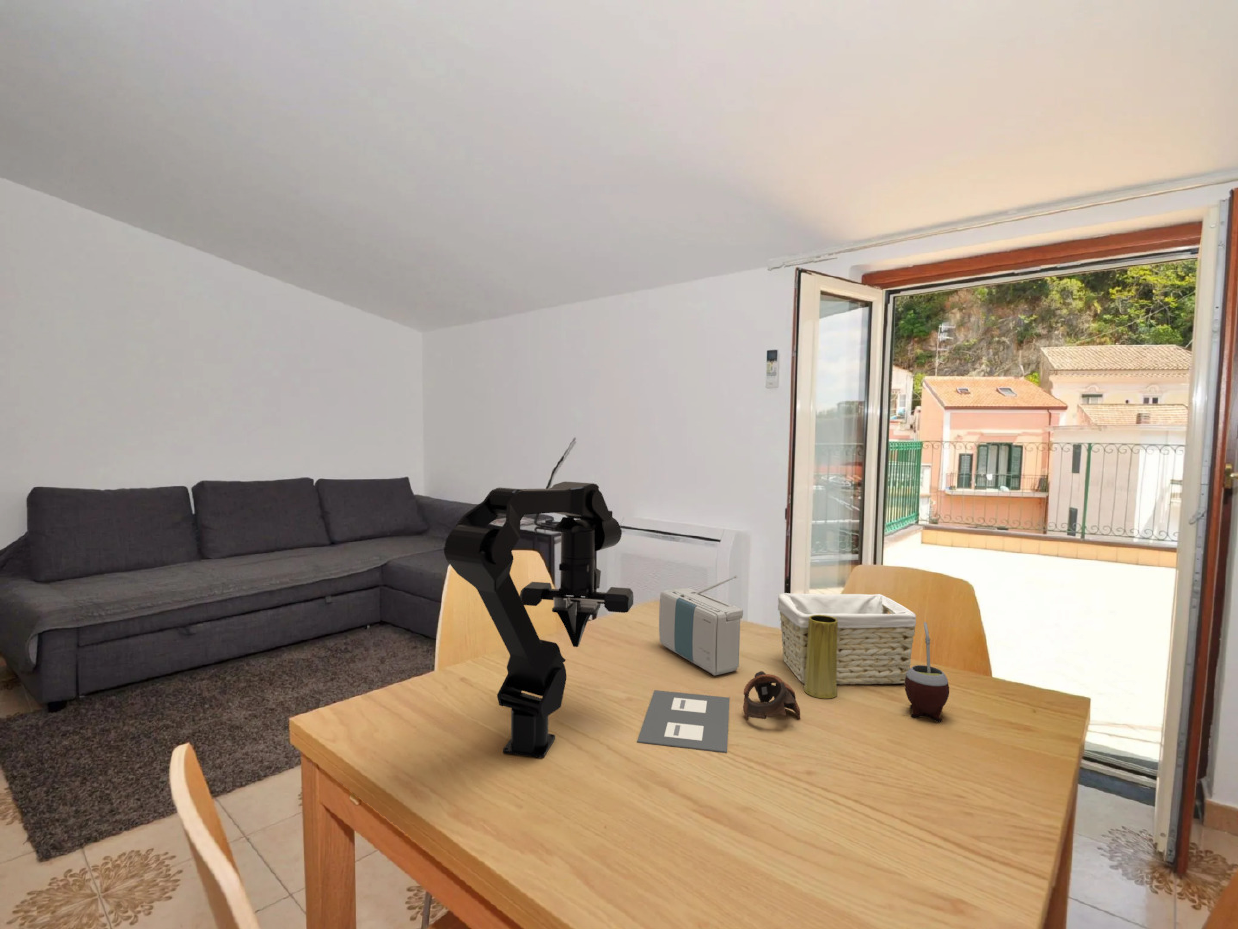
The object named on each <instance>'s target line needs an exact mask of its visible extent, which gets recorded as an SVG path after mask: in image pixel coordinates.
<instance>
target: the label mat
mask: <svg viewBox="0 0 1238 929" xmlns="http://www.w3.org/2000/svg"><path fill="white" fill-rule="evenodd" d="M652 693H653V694H652V695H651V699H650V701H649V702H650V703H649V705H648V709H647V711H646V714H645V716H644V719H643V723H642V725H641V727H640V731H639V734H638V737H637V740H636V743H638V744H639V743H641V744H648V745H658V746H666V747H673V748H680V749H681V748H682V749H690V748H691V750H698V749H700V750H701V751H710V752H716V751H717V752H718V753H726V754H728V744H729V743H728V742H729V741H728V740H729V738H728V737H729V736H728V735H729V718H730V696H729V697H728V696H727V697H726V696H717V695H707V694H698V693H697V694H695V693H687V692H686V693H685V692H677V691H676V692H675V691H670V690H669V691H668V690H666V691H665V690H658V689H654V690H653V692H652Z"/></svg>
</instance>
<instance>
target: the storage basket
mask: <svg viewBox="0 0 1238 929" xmlns="http://www.w3.org/2000/svg"><path fill="white" fill-rule="evenodd" d="M777 603H778V604H777V611H779V616H780V618H779V620H780V631H781V642H782V644H781V645H782V658H783V662H784V663H785V664H786V665H787V667H788V668H789V670H790V671H791V672H792V673H793V674H794V676H795V677H797V679H798V680H799V681H800V682H801V683H802V684H804V685H805V669H806V658H807V645H808V625H809V617H810V616H812V615H827V616H831V617H834V618H836V619H837V621H838V631H837V671H836V674H837V676H836V685H848V684H849V685H855V684H857V685H858V684H859V685H873V684H874V685H877V684H879V685H884V684H893V685H896V684H905V678H906V673H907V672H908V670H909V669H910V668H911V664H912V663H911V661H912V660H911V658H912V652H913V644H914V636H915V633H916V625H917V615H916V613H915V612H913V611H911V610H910V609H909V608H907V607H905V606H903V605H902V604H900V603H898V602H896V601H895V600H894V599H891V598H889V597H887V596H885V595H883V594H880V593H875V594H865V593H829V594H827V593H789V592H788V593H787V592H784V593H779V594H778V596H777Z"/></svg>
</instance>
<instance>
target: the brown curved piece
mask: <svg viewBox="0 0 1238 929" xmlns="http://www.w3.org/2000/svg"><path fill="white" fill-rule="evenodd" d="M774 684H775V685H774ZM753 688H754V689H755V691H756V693H757V696H758V699H759V700H758V701H759V702H756V701H753V700H752V699H751V698H750V692H751V690H752V689H753ZM743 695H744V698H743V706H742V709H743V714H744V717H745V718H747V719H746V720H748V719H749V718H753V719H754V718H755V719H760V720H765V719H767V718H768V719H769V718H773V717H776V716H780V715H781V716H785V717H787V713H786V709H787V710H792V711H794V713H795V715H796V716H797V719H799V720H801V708H800V706H799V704H798V702H797V700H796V698H797V697H796V692H795V690H794V689H793V688H792V687H791V686H790V684H788V683H787V682H785V681H784V680H782V679H781V678H780V677H778V676H777V675H774V674H772V673H771V674H770V673H766V672H764V671H762V670H760V671H758V672H756V673H755V674H754V677H753V678H752V679H750V680H749V681H748V682H747V683H746V685H745V687H744V688H743Z"/></svg>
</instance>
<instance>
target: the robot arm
mask: <svg viewBox="0 0 1238 929" xmlns="http://www.w3.org/2000/svg"><path fill="white" fill-rule="evenodd" d="M553 513H554V514H558V515H562V516H563V515H564V516H563V517H562V518H561V519H560V521H559V522H557V523H556V524H555V526H554V528H553V531H554V532H559V533H560V563H559V564H558V570H559V571H560V576H559V577H560V583H559V585H560V587H559V588H558V589H557V588H552V587H553V586H552V584H551V583H550V582H541V581H540V582H539V581H531V582H530V583H528V584H527V585H525V586H524V587H523V588H522V589H521V590H520V593H519V592H518V589H517V587H516V585H515V582H514V580H513V579H512V576H511V574H510V573H511V570H512V566H513V563H514V555H513V549H514V548H515V546H516V545H517V544H518V542H519V540H520V538H521V521H522V519H523V517H524V516H527V515H529V516H530V515H541V514H543V515H544V514H553ZM499 516H503V517H505V521H504V523H503V525H502V527H501V528H500V529H499V528H493V527H487V526H488V525H490V524H491V523H493V521H495V520H496V519H497V518H498V517H499ZM622 534H623V531H622V528H621V525H620V523H619V522H618V520H617V519H616V518H614V517H613V510H609V508H608V505H607V503H606V500H605V498H604V495H603V493H602V491H600V487H599V485H598V484H597V483H593V482H592V483H591V482H579V481H578V482H577V481H561V482H559V483H555V484H553V485H552V487H549V488H512V487H511V488H510V487H501V486H500V487H496V488H493V489H492V490H490V491H489V493H488V494H487V496H486V497H485V499H483V501H482V502H479V503H478V504H477V505H476V506H474V507H473V508H472V509H470V510H468V511H467V512H466V513H465V514H463V516H462V517H460V519H459V521H458V522H457V523H456V524H455V526H454V528H452V529H451V531H450V532H449V534H448V536H447V537H446V540H445V544H444V547H443V553H444V557H445V559H446V561H447V562H448V564H449V565H450V567H452V569H453V570H454V571H455V572H456V574H457V575H458V576H460V577H461V578H463V579H464V580H465V581H466V582H467V583H469V584H470V585H471V586H473V587H474V588H475V590H476V591H477V592H478V594H479V596H480V598H481V600H482V603H483V604H484V606H485V608H486V610H487V612H488V614H489V617H490V618H491V620H492V622H493V624H494V626H495V628H496V629H497V632H498V634H499V635H500V638H501V640H502V642H503V644H504V646H505V648H506V650H507V652H508V654H509V658H508V661H507V664H506V670H507V675H506V677H505V678H504V681H503V682H502V685H501V686H500V688H499V691H498V692H497V695H496V697H497V701H498V705H499V706H500V707H505V708H509V709H510V710H511V712H510V720H511V721H510V723H511V724H510V739H509V740H508V742H507V743H506V744H505V745H504V747H503V748H502V753H503V754H508V755H517V756H523V757H533V758H541V759H542V758H544V757H545V756H546V755H547V753H548V751H549V750H550V748H551V746H552V744H553V743H554V741H555V740H556V735H555V734H551V733H549V718H550V717H549V716H550V715H552V714H553V713H555V712H556V711H558V710H559V709H561V707H562V704H563V698H564V694H565V693H564V692H565V689H566V688H565V687H566V683H567V670H566V666H565V664H564V663H565V662H566V658H565V657H563V655H562V652H561V649H560V647H559V645H558V643H556V642H553V641H549V640H548V641H547V640H544V639H540V638H539V635H538V632H537V630H536V628H535V627H534V623H533V622H532V619H531V618H530V615H529V614H528V611H527V609H526V606H531V607H532V606H533V607H537V606H538V605H539V604H540V603H541V602H543V601H545V600H546V601H553V607H551V611H552V613H556V614H557V615H558V617H559V619H560V620H561V623H562V625H563V626H564V628H565V630H566V633H567V635H568V637H569V640H570V642H571V644H572V647H575V648H578V647H579V646H580V643H581V641H582V637H583V634H584V632H585V630H586V626H587V624H588V622H589V619H590V617H591V616H594V615H595V614H596V613H597V612H598V610H600V608H601V605H604V606H603V607H604V608H605V609H606V610H607V612H610V613H629V612H630V610H631V608H632V606H633V605H634V592H633V590H632V589H631V588H628V587H617V586H616V587H615V586H614V587H613V586H611V587H610V588H609V589H608V590H607V591H606V592H603V591H595V590H598V589H600V588H601V587H600V585H601V576H602V571H601V570H600V569H598V568H597V567H596V559H595V552H598V551H602V550H605V549H608V548H612V547H614V546H616V545H617V544H618V543H619V542H620V541H621V538H622ZM542 600H543V601H542ZM578 603H579V604H580V607H579V608H578V609H577V605H578ZM524 692H526V693H524ZM528 693H529V694H528ZM532 694H533V695H532ZM539 696H540V697H539Z"/></svg>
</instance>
